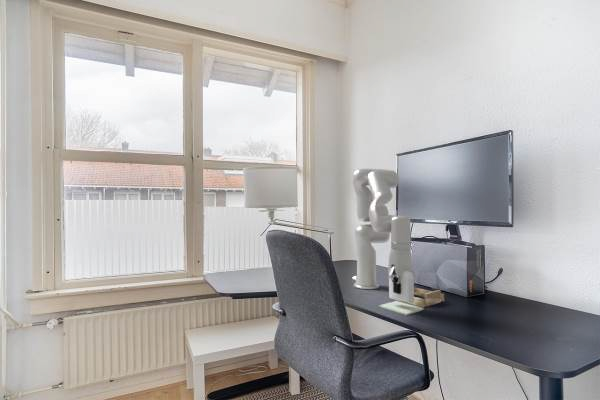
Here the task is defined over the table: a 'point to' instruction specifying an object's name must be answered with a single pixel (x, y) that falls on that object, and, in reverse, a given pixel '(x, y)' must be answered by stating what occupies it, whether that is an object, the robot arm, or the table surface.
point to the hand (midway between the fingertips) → (401, 291)
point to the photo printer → (403, 288)
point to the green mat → (401, 307)
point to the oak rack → (427, 297)
